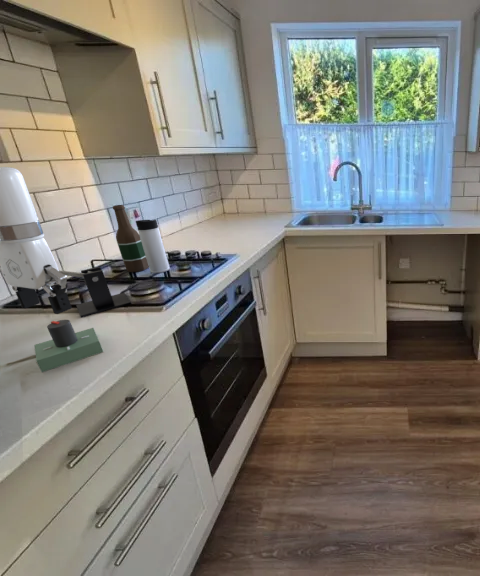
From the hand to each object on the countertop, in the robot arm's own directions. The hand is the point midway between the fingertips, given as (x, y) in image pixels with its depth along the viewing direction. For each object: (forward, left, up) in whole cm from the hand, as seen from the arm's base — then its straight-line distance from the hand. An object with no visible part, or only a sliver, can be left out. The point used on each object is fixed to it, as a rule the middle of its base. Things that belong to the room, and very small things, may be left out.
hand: (47, 308), depth 79 cm
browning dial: (+1, 0, -9) cm, 9 cm away
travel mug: (+31, +45, -12) cm, 56 cm away
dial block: (+1, 0, -12) cm, 12 cm away
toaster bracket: (+11, +24, -12) cm, 29 cm away
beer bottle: (+26, +56, -12) cm, 63 cm away
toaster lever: (+6, +24, -1) cm, 25 cm away
